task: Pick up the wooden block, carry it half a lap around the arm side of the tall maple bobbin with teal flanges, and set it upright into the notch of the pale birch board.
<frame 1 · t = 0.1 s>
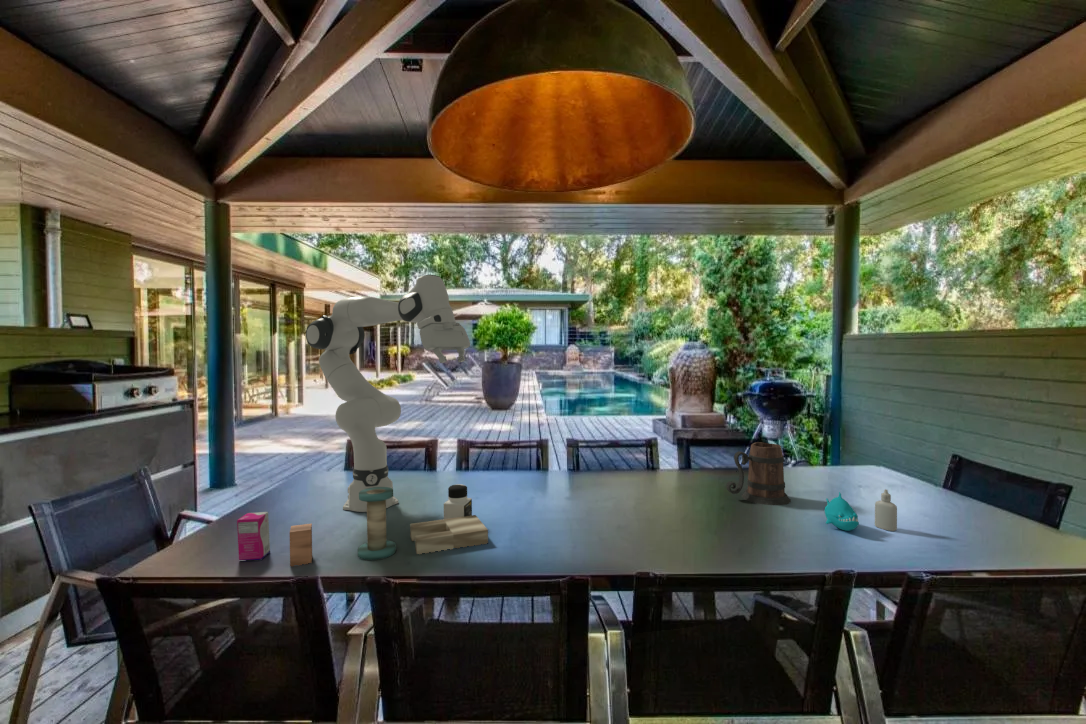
hand: (452, 362, 160), 52 cm above the table, tool tilted 20°, fingers open, 8 cm apart
wooden block: (301, 561, 133), on the table
bobbin: (377, 552, 138), on the table
supplement box: (254, 557, 135), on the table
eye dropper bottle: (885, 529, 154), on the table
toy shark: (839, 526, 156), on the table
tankard: (757, 499, 185), on the table
notched board: (448, 540, 146), on the table
medicine bottle: (458, 523, 162), on the table
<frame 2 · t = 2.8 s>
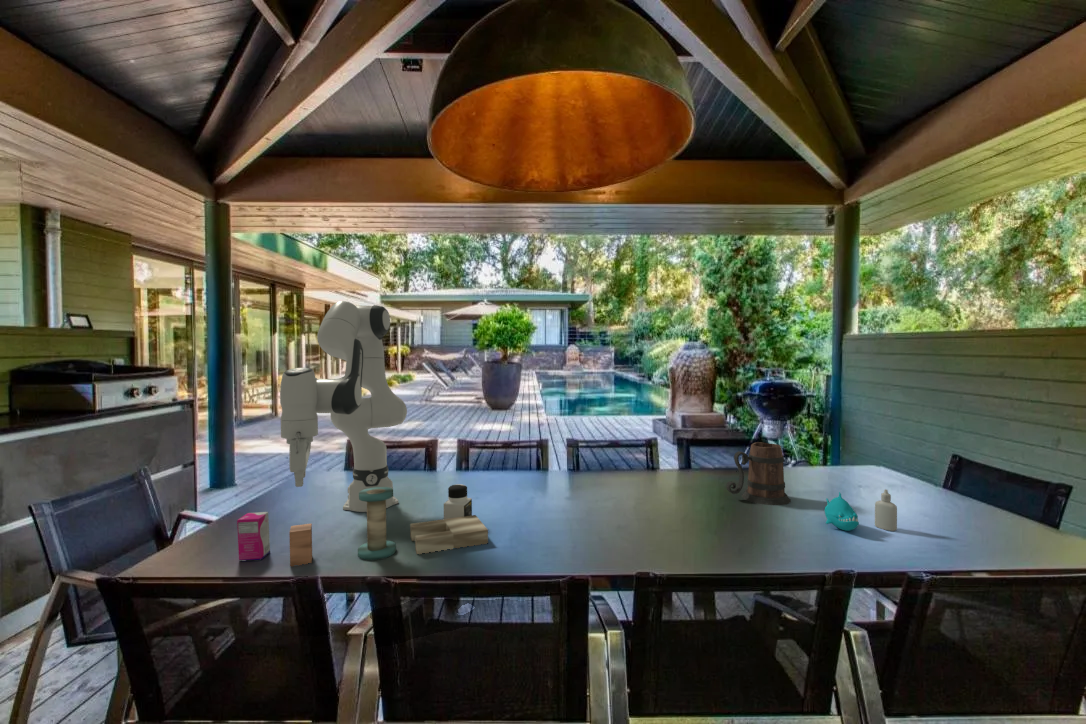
hand: (300, 481, 132), 21 cm above the table, tool pointing down, fingers open, 8 cm apart
nothing on the table moved.
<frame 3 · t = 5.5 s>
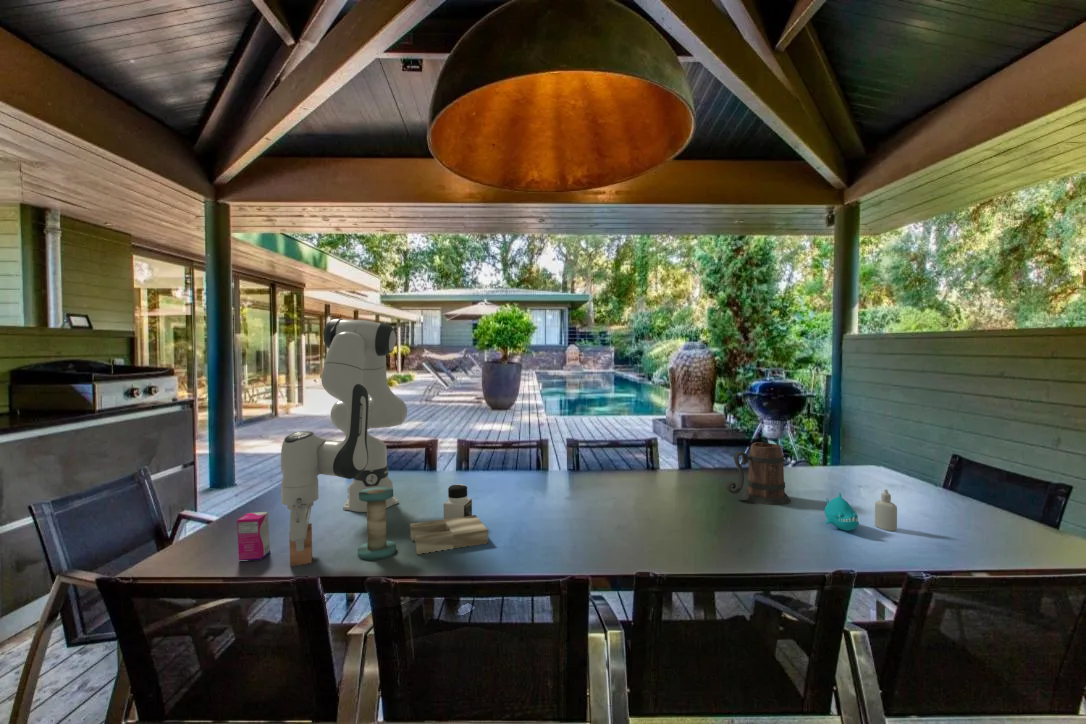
hand: (301, 545, 132), 4 cm above the table, tool pointing down, fingers closed on wooden block, 5 cm apart
wooden block: (301, 561, 133), on the table, touching gripper
everything else where it was.
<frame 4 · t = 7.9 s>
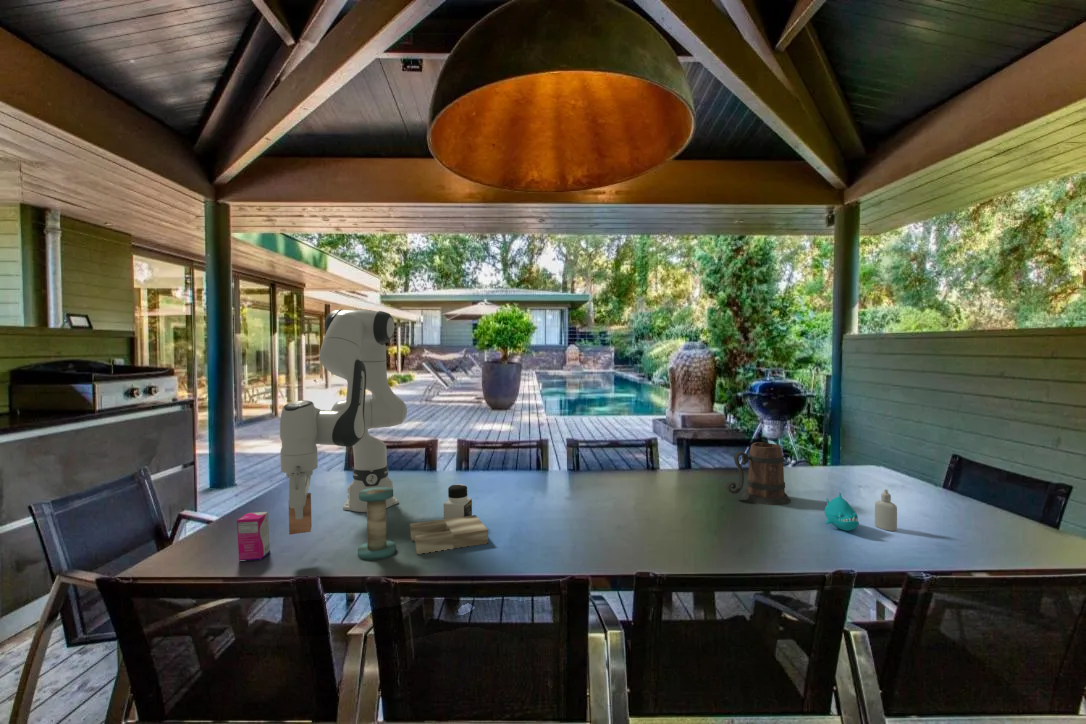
hand: (300, 514, 132), 12 cm above the table, tool pointing down, fingers closed on wooden block, 5 cm apart
wooden block: (300, 529, 133), point 8 cm above the table, touching gripper
everything else where it was.
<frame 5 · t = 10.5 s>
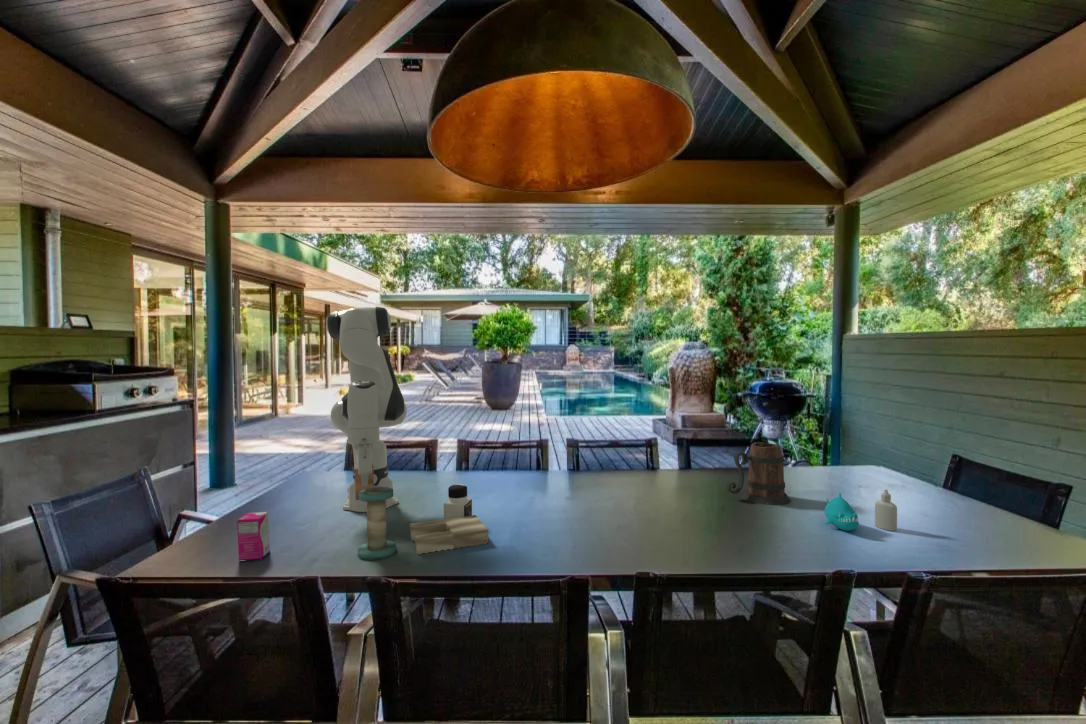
hand: (364, 482, 147), 17 cm above the table, tool pointing down, fingers closed on wooden block, 5 cm apart
wooden block: (364, 496, 147), point 13 cm above the table, touching gripper
everything else where it was.
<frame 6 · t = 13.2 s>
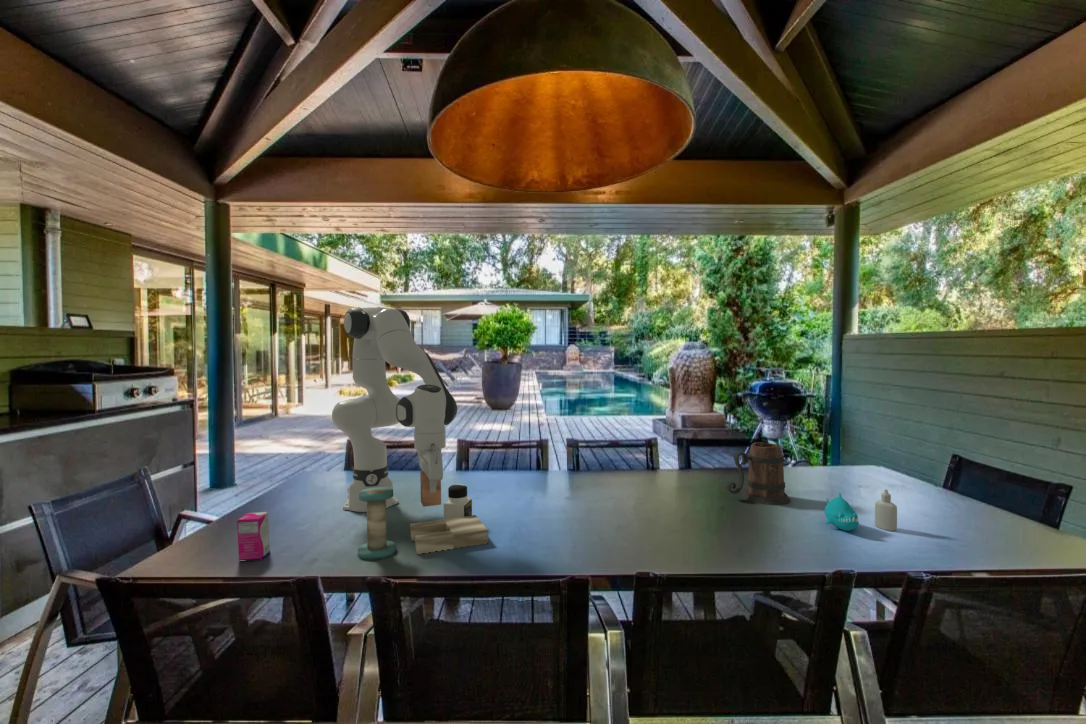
hand: (430, 489, 144), 16 cm above the table, tool pointing down, fingers closed on wooden block, 5 cm apart
wooden block: (430, 503, 144), point 12 cm above the table, touching gripper
everything else where it was.
when the fingers open (6 cm above the table, at t = 15.7 s): wooden block drops 2 cm, resting in notched board.
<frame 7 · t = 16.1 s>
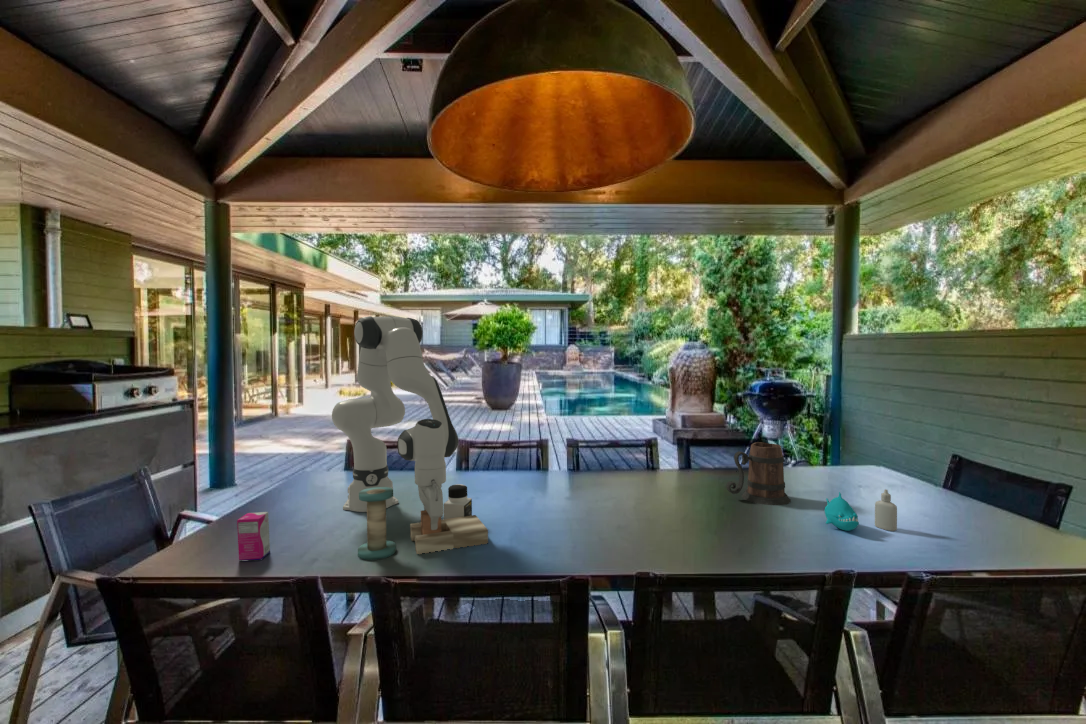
hand: (431, 523, 144), 6 cm above the table, tool pointing down, fingers open, 8 cm apart
wooden block: (431, 542, 145), resting in notched board
everything else where it was.
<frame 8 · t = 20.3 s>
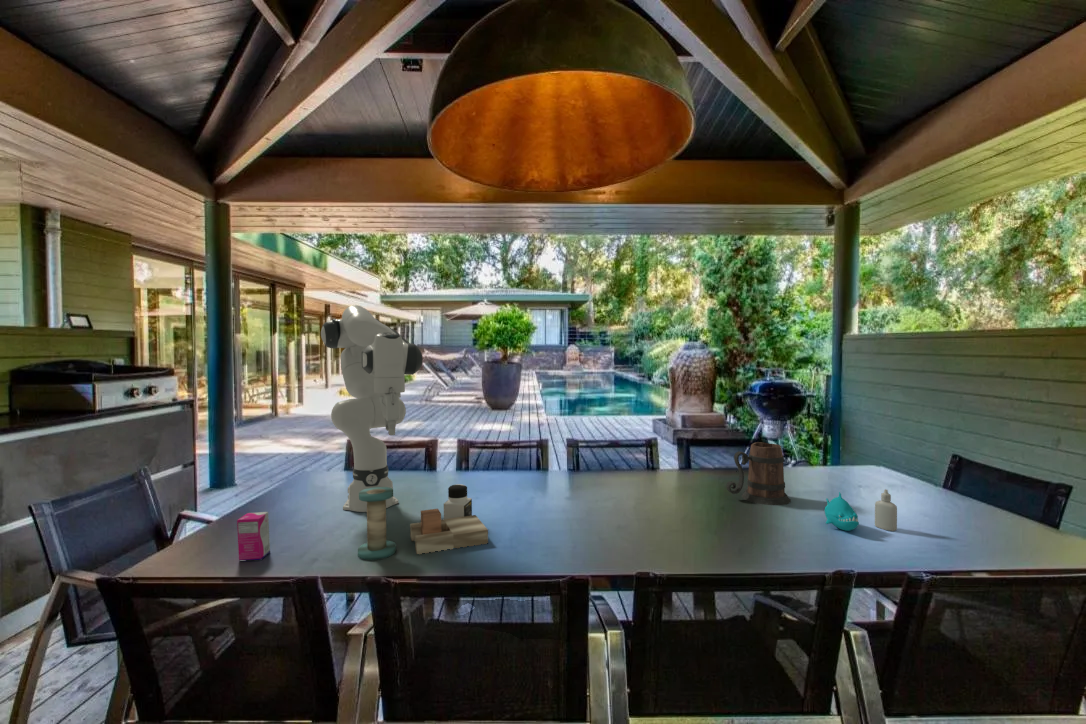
hand: (390, 432, 150), 31 cm above the table, tool pointing down, fingers open, 8 cm apart
nothing on the table moved.
at the end: wooden block 0.1 cm from the target spot on the notched board, point 0.0 cm above the notched board's base; wooden block tilted 0°; the gripper is holding nothing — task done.
